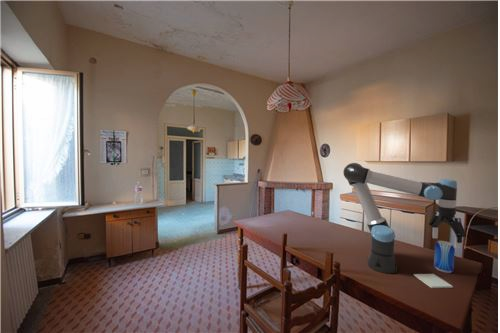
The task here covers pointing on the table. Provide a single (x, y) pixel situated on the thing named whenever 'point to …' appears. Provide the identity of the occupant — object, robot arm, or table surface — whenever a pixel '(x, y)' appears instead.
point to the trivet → (433, 281)
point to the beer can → (444, 256)
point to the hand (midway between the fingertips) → (445, 242)
